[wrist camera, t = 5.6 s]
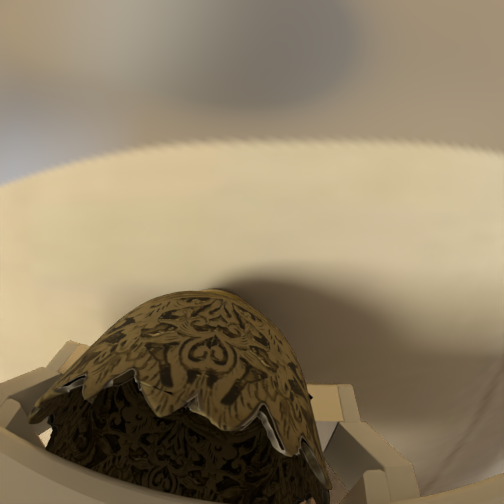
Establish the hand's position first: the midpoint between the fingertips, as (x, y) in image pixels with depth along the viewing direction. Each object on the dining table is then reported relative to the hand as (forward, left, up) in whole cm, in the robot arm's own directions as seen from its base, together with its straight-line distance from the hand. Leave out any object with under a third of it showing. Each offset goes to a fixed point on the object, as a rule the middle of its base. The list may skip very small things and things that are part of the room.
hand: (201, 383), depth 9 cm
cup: (0, 0, -4) cm, 4 cm away
